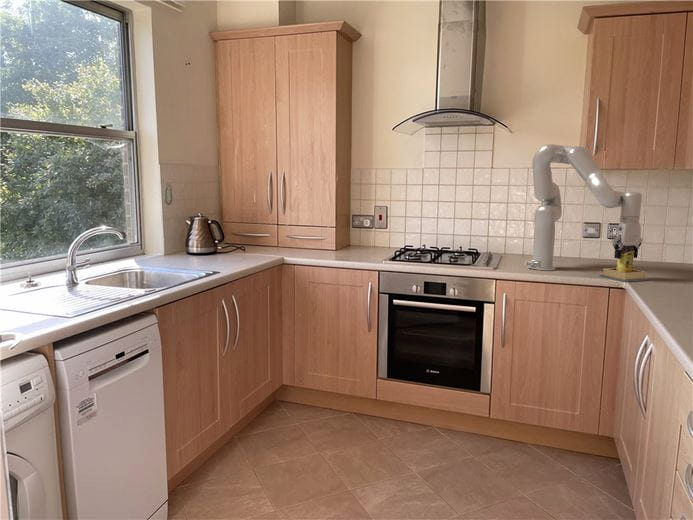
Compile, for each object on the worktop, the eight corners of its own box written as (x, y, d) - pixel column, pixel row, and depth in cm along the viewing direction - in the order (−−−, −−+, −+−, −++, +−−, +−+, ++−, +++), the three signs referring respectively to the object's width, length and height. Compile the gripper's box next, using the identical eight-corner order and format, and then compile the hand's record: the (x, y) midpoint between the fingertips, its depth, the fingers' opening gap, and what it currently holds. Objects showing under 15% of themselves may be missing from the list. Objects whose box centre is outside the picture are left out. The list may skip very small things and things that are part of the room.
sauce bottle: (626, 278, 233) (631, 233, 230) (613, 275, 238) (617, 232, 235) (634, 276, 237) (639, 233, 233) (620, 274, 242) (624, 231, 238)
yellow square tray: (625, 282, 228) (626, 273, 228) (599, 276, 241) (600, 268, 240) (648, 280, 233) (649, 272, 233) (622, 274, 246) (622, 266, 245)
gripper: (622, 221, 226) (618, 260, 229) (651, 220, 232) (647, 258, 235) (608, 219, 233) (604, 257, 236) (636, 219, 239) (632, 255, 242)
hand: (625, 258), depth 236 cm, fingers open, 9 cm apart
